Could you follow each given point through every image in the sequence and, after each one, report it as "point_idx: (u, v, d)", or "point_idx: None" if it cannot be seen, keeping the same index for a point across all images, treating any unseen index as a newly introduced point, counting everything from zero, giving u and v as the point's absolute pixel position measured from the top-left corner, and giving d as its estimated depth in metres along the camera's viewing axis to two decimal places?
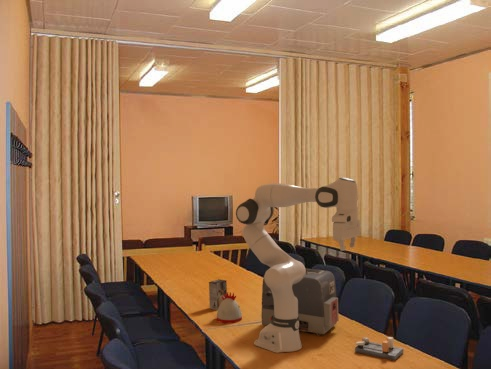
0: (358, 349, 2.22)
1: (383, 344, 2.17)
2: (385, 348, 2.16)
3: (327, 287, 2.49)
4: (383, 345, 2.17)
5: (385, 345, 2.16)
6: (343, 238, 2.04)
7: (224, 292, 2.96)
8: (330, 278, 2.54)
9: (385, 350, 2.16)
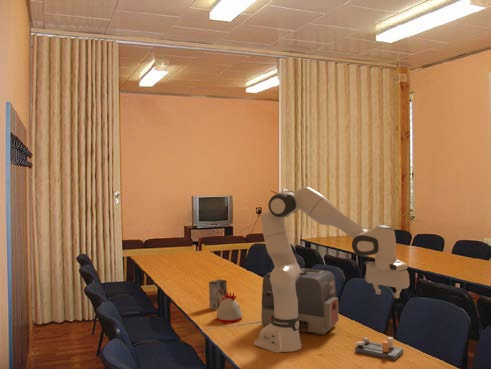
0: (358, 349, 2.22)
1: (383, 344, 2.17)
2: (385, 348, 2.16)
3: (327, 287, 2.49)
4: (383, 345, 2.17)
5: (385, 345, 2.16)
6: None
7: (224, 292, 2.96)
8: (330, 278, 2.54)
9: (385, 350, 2.16)
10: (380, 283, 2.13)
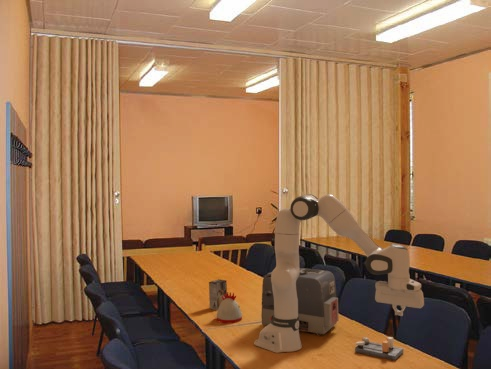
0: (358, 349, 2.22)
1: (383, 344, 2.17)
2: (385, 348, 2.16)
3: (327, 287, 2.49)
4: (383, 345, 2.17)
5: (385, 345, 2.16)
6: None
7: (224, 292, 2.96)
8: (330, 278, 2.54)
9: (385, 350, 2.16)
10: (392, 303, 2.13)
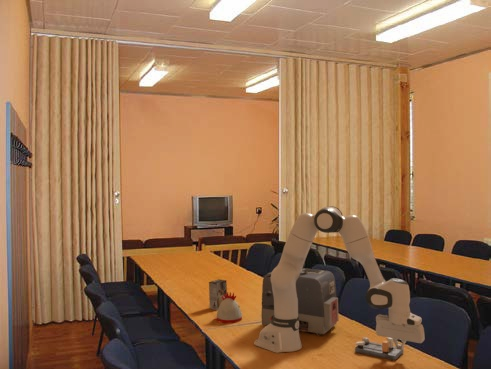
0: (358, 349, 2.22)
1: (383, 344, 2.17)
2: (385, 348, 2.16)
3: (327, 287, 2.49)
4: (383, 345, 2.17)
5: (385, 345, 2.16)
6: None
7: (224, 292, 2.96)
8: (330, 278, 2.54)
9: (385, 350, 2.16)
10: (393, 337, 2.13)
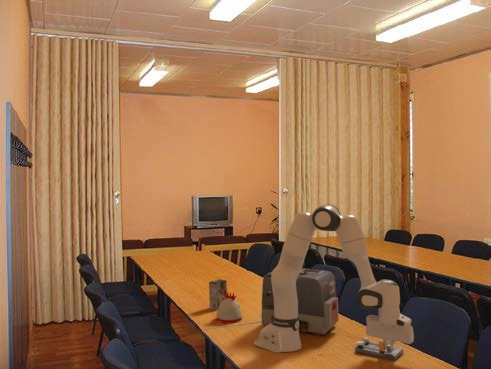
0: (358, 349, 2.22)
1: (380, 343, 2.17)
2: (382, 348, 2.17)
3: (327, 287, 2.49)
4: (380, 344, 2.17)
5: (382, 344, 2.17)
6: None
7: (224, 292, 2.96)
8: (330, 278, 2.54)
9: (382, 349, 2.17)
10: (383, 337, 2.16)
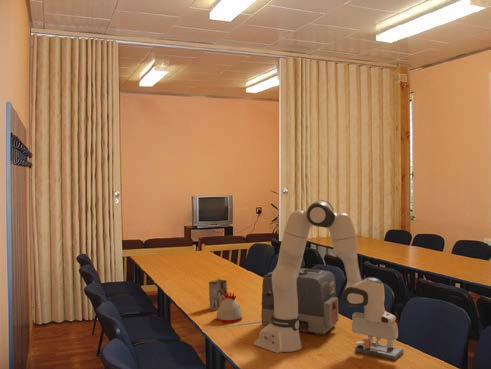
0: (358, 349, 2.22)
1: (365, 340, 2.21)
2: (367, 345, 2.21)
3: (327, 287, 2.49)
4: (365, 341, 2.21)
5: (367, 341, 2.21)
6: None
7: (224, 292, 2.96)
8: (330, 278, 2.54)
9: (367, 346, 2.21)
10: (368, 334, 2.20)
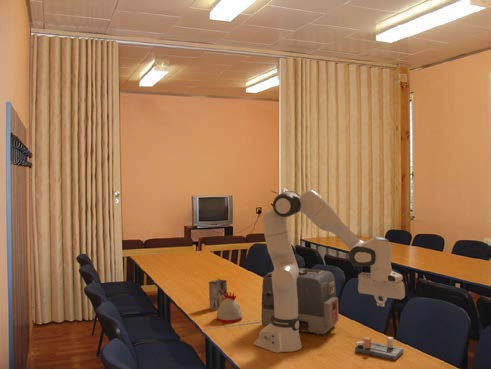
0: (358, 349, 2.22)
1: (365, 340, 2.21)
2: (367, 345, 2.21)
3: (327, 287, 2.49)
4: (365, 341, 2.21)
5: (367, 341, 2.21)
6: None
7: (224, 292, 2.96)
8: (330, 278, 2.54)
9: (367, 346, 2.21)
10: (374, 294, 2.18)
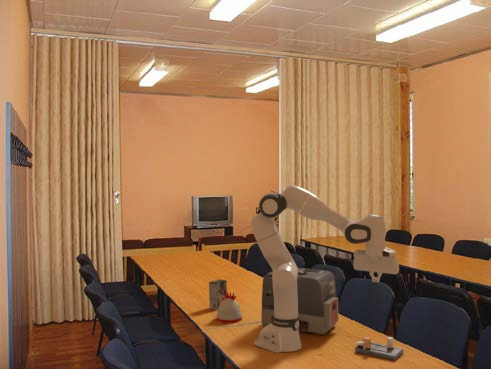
0: (358, 349, 2.22)
1: (365, 340, 2.21)
2: (367, 345, 2.21)
3: (327, 287, 2.49)
4: (365, 341, 2.21)
5: (367, 341, 2.21)
6: None
7: (224, 292, 2.96)
8: (330, 278, 2.54)
9: (367, 346, 2.21)
10: (369, 270, 2.23)
